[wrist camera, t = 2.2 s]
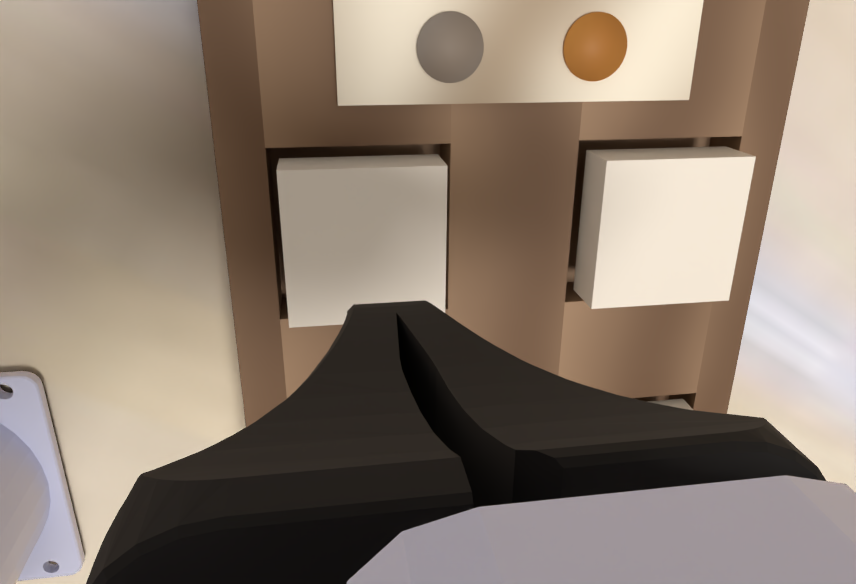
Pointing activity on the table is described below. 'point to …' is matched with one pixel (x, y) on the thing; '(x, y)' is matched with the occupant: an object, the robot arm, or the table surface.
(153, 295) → the table surface
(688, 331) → the button board
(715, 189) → the button
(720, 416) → the robot arm
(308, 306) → the button
